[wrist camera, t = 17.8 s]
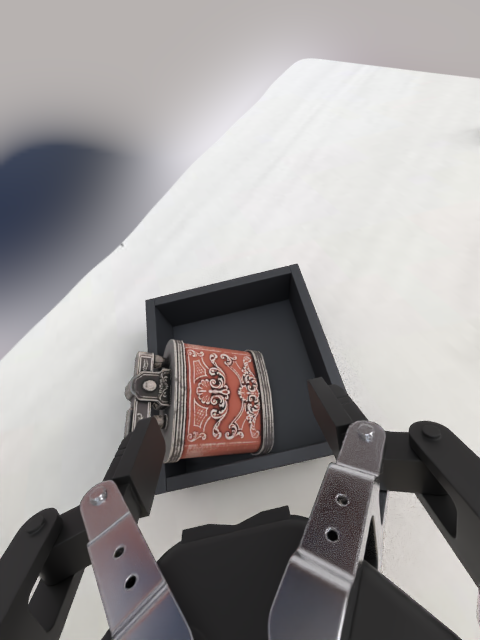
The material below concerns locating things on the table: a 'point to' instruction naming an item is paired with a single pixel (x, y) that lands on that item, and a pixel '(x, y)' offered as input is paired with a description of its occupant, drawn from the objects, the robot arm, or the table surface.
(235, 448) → the lighter
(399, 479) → the robot arm
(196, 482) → the desk bin
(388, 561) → the table surface
